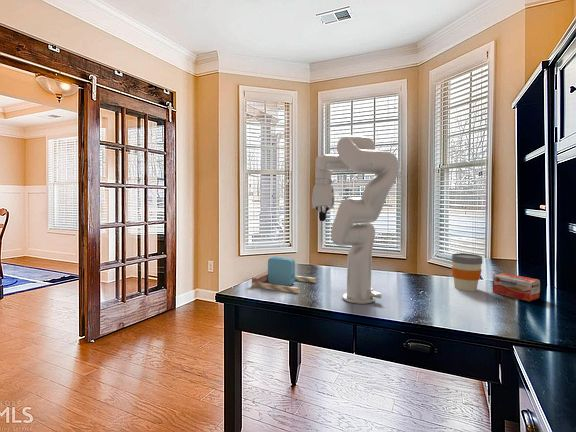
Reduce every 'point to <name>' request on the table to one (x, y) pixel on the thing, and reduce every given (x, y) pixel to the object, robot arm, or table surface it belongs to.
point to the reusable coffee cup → (466, 271)
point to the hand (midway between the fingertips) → (322, 220)
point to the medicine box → (516, 286)
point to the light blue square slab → (281, 271)
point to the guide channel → (262, 282)
